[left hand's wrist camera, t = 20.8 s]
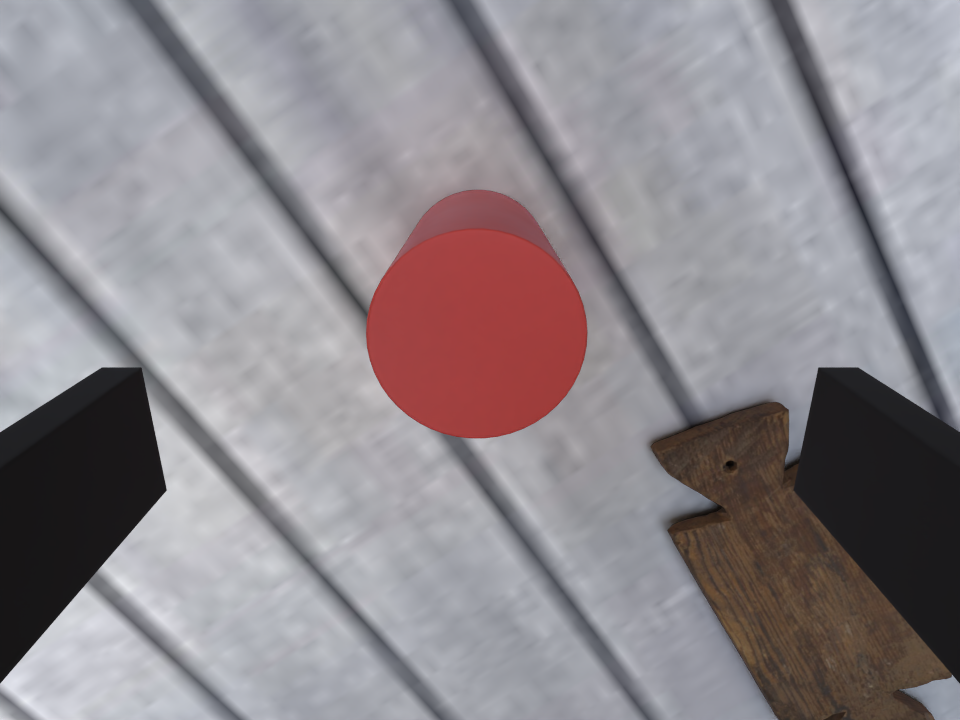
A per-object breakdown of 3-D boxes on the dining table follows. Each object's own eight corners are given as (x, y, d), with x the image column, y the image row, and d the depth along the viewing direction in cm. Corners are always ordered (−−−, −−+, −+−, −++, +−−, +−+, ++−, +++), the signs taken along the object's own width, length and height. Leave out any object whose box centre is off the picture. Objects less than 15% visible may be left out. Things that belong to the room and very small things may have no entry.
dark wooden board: (814, 358, 29) (623, 451, 31) (833, 371, 28) (630, 469, 30) (964, 711, 37) (803, 770, 39) (986, 737, 35) (817, 798, 37)
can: (420, 176, 26) (381, 207, 16) (561, 205, 27) (613, 253, 17) (398, 314, 29) (352, 419, 18) (530, 339, 29) (558, 455, 19)
